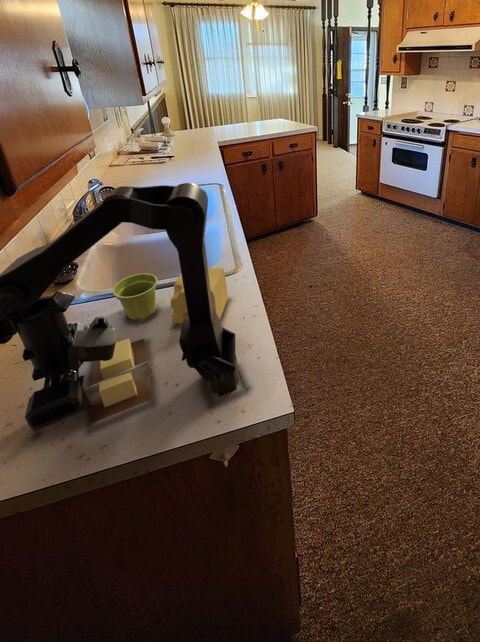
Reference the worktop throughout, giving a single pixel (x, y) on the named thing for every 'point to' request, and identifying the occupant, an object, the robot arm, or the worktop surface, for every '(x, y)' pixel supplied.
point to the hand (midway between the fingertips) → (75, 403)
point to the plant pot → (137, 295)
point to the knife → (93, 391)
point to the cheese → (217, 295)
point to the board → (143, 395)
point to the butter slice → (117, 389)
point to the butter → (118, 360)
